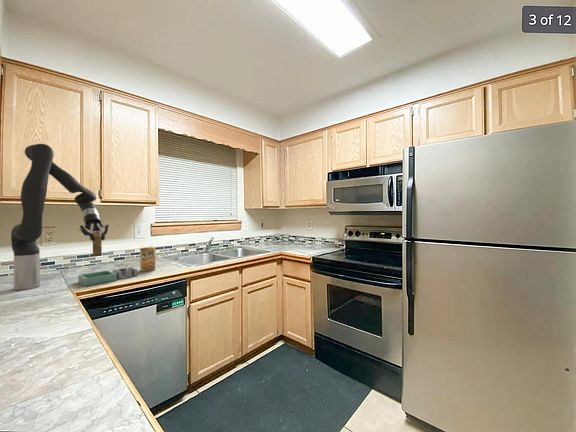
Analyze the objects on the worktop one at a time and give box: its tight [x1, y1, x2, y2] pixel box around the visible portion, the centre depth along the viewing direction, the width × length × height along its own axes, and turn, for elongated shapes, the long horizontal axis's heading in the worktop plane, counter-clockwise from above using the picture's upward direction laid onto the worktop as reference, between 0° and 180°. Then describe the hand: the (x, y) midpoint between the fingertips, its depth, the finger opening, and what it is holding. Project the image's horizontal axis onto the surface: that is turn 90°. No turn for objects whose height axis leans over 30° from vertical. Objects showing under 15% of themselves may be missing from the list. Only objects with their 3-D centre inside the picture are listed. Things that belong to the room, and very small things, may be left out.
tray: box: [77, 270, 118, 287], centre depth 141 cm, size 14×14×4 cm
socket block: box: [111, 266, 138, 280], centre depth 153 cm, size 10×10×4 cm
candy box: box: [139, 246, 156, 272], centre depth 169 cm, size 9×4×15 cm, turn 116°
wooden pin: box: [92, 231, 103, 257], centre depth 141 cm, size 4×4×13 cm
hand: (98, 239), depth 140 cm, fingers closed on wooden pin, 4 cm apart
